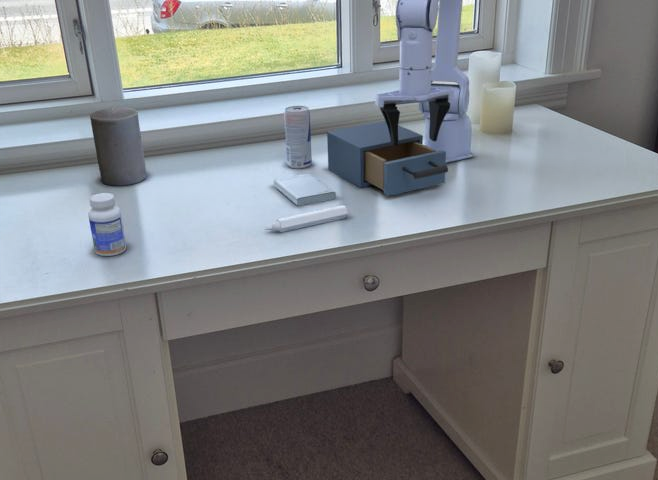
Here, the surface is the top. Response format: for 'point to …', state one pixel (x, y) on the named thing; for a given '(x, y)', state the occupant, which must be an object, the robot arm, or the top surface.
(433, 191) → the top surface
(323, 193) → the hard drive
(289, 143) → the energy drink
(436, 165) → the drawer
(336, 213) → the marker
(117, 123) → the pillar candle
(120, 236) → the pill bottle
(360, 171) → the cabinet
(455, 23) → the robot arm
